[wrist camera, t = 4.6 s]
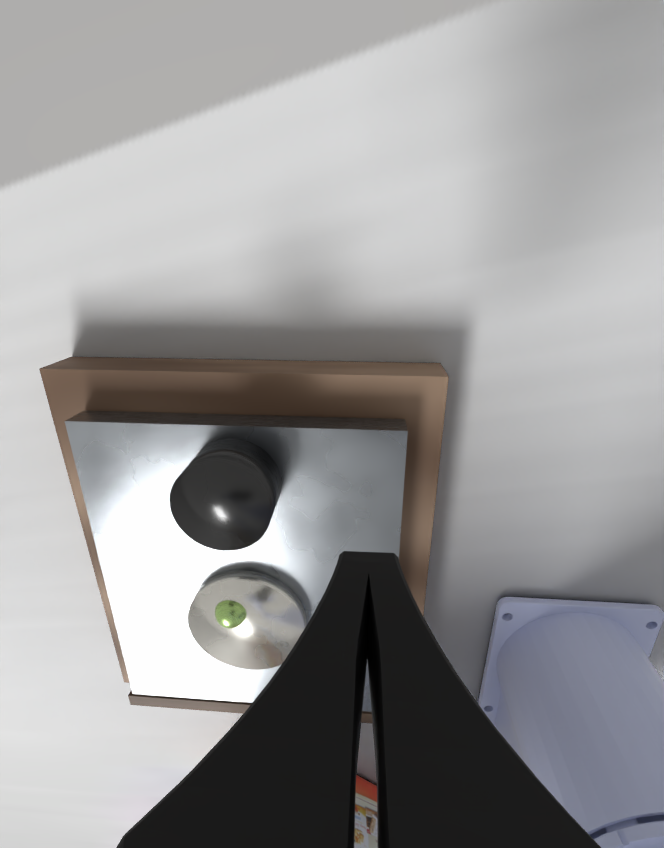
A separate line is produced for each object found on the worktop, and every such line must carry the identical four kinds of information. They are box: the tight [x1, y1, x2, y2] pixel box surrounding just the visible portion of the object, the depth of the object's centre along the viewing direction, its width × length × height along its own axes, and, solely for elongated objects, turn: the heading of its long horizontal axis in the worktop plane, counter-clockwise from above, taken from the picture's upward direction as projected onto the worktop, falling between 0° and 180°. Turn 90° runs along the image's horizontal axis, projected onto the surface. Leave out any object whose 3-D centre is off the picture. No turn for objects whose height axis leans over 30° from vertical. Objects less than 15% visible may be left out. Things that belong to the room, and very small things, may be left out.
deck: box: [65, 411, 408, 712], centre depth 18 cm, size 15×13×3 cm
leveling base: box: [40, 357, 449, 723], centre depth 20 cm, size 18×16×3 cm
